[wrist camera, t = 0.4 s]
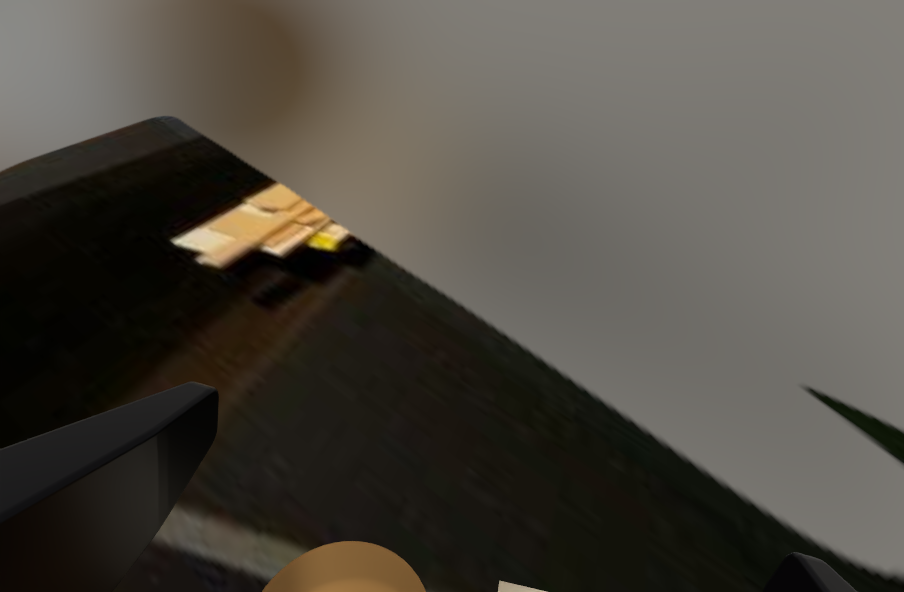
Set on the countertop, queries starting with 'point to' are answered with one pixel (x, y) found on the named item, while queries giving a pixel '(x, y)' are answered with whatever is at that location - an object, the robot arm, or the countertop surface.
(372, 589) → the disc with rod
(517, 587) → the flange board
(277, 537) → the countertop surface
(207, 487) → the countertop surface
